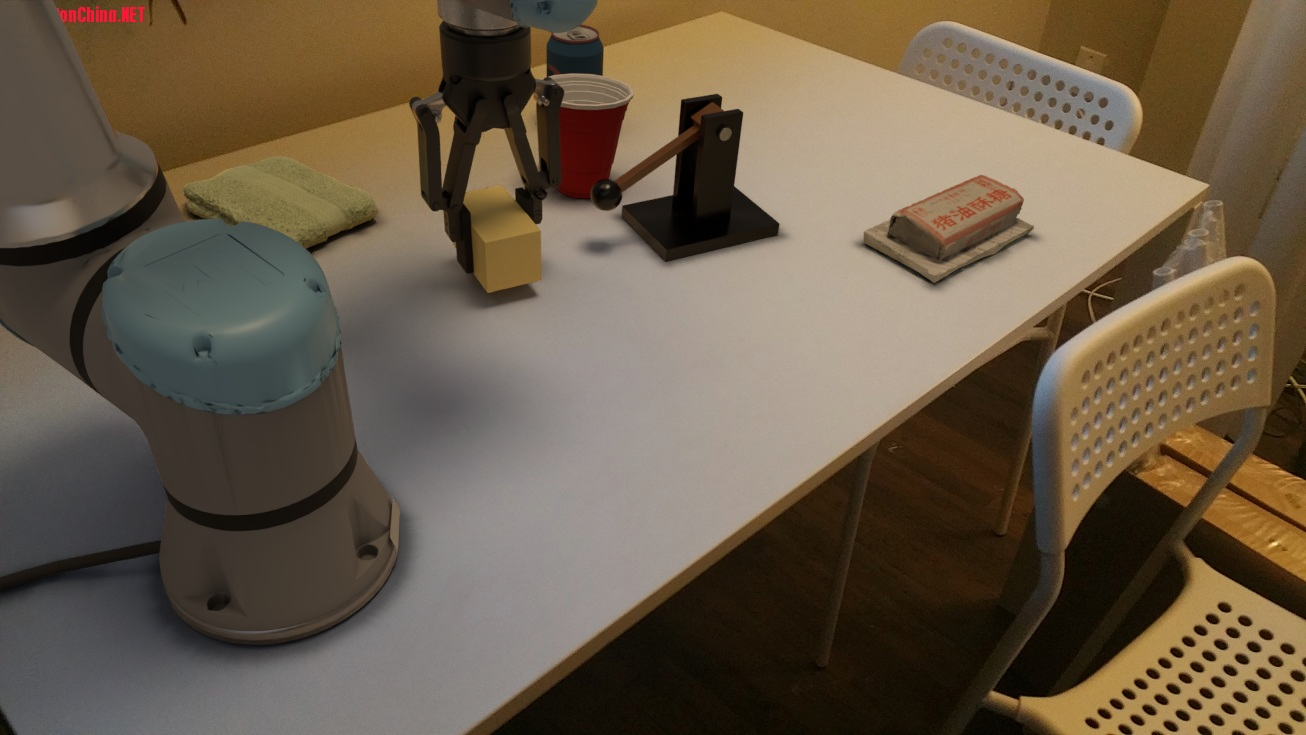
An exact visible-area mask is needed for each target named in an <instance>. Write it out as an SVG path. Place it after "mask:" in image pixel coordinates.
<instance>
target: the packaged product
mask: <svg viewBox="0 0 1306 735" xmlns="http://www.w3.org/2000/svg"><path fill="white" fill-rule="evenodd" d="M1024 201H1025V199H1024V197H1023V196H1022V195H1021V193H1020V192H1018V190H1017V189H1016V188H1014V187H1010V186H1009V185H1007V184H1003V183H1002V182H999V181H998V180H996V179H994V178H991V177H989V176H988V175H987V176H986V175H984V174H979V175H977V176H974V177H972V178H969V179H967V180H965V181H963V182H961V183H958V184H956V185H953V186H950V187H949V188H946V189H944V190H942V191H940V192H937V193H935V194H933V195H929V196H928V197H926V198H924V199H921V200H919V201H917V202H915V203H912V204H911V205H907V206H905V207H902V208H901V209H900V208H899V209H898V210H897V211H894V213H893V214H891V217H890V218H889V220H886V221H883V222H882V223H879V224H878V225H877V224H876V225H874V226H873V227H871V228H868V229H865V230H864V231H863V244H865V245H867V246H869V247H871V248H873V249H875V250H876V251H879V252H881V253H883V255H886V256H888V257H889V258H892V259H893V260H896V261H897V262H899V263H901V264H903V265H904V266H907V267H908V268H910V269H912V270H914V271H915V272H918V274H920V275H922V276H923V277H925V279H928V280H929V281H930V282H932V283H933V284H935V283H937V282H939V281H940V280H942V279H943V278H945V277H947V276H949V275H950V274H951V273H954V272H955V271H957V270H958V269H960V268H963V267H965V266H968V265H970V264H972V263H974V262H976V261H979V260H980V259H984V258H985V257H990V256H992V255H996V254H997V253H998V252H999V251H1001V249H1002V248H1004V247H1005V246H1006V245H1008V244H1010V243H1012V242H1013V241H1015V240H1017V239H1020V238H1021V237H1023V236H1026V235H1028V234H1030V233H1031V232H1032V231H1033V230H1034V229H1035V225H1034V224H1033V225H1032V224H1030V223H1029V222H1026V221H1024V220H1022V219H1021V218H1019V217H1018V215H1020V212H1021V211H1022V207H1023V204H1024Z"/></svg>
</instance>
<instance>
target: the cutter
mask: <svg viewBox="0 0 1306 735" xmlns="http://www.w3.org/2000/svg"><path fill="white" fill-rule="evenodd" d="M711 102H713V103H715V104H716V105H717V106H719V107H720V108H721V109H722V104H723V96H722V95H720V94H719V93H713V94H712V93H711V94H708V95H701V96H695V97H694V96H693V97H688V98H682V99H680V109H679V120H678V131H677V132H678V133H677V137H678V136H679V135H681V134H682V133H684V132H685V131H686V130H688V129H689V128H691V127H692V126H694V124H693V122H692V120H691V116H693V115H694V114H695V113H697V112H698V111H700V110H701V109H703V108H704V107H706V106H707V105H708V104H710V103H711ZM743 119H744V111H742V110H741V109H740V108H735V109H728V110H724V111H722V112H716V113H710V114H704V115H701V123H700V133H699V139H698V140H697V141H695V142H694V143H692V144H691V145H690V146H688V147H687V148H685V149H684V150H682V151H681V152H680V153H678V154H677V155H675V157H676V158H675V167H674V179H673V180H674V181H673V191H672V194H671V195H665V196H662V197H661V196H660V197H657V198H651V199H646V200H642V201H637V202H633V203H628V204H623V205H621V217H622V218H623V220H624V221H625V222H626V223H627V224H628V225H629V226H630V227H631V228H632V229H633V230H634V231H635V232H636V233H637V234H638V235H639V236H640V237H641V238H642V239H643V240H644V241H645V242H646V243H647V244H648V245H649V246H650V247H651V248H652V249H653V250H655V252H656V253H657V254H658V255H659V256H660V257H661V258H662V259H663V260H664V261H665V262H669V261H674V260H677V259H682V258H687V257H690V256H695V255H698V254H702V253H707V252H711V251H715V250H719V249H724V248H728V247H733V246H736V245H740V244H741V245H742V244H744V243H749V242H754V241H757V240H762V239H766V238H769V237H774V236H778V235H779V231H780V225H781V224H780V223H779V222H778V221H777V219H775V218H773V217H772V216H771V215H770V214H768V212H767V211H765V210H764V209H762V207H760V206H759V205H758V204H757V203H756V202H754V201H753V200H752V199H751V198H749V197H748V196H747V195H746V194H744V193H743V192H742V191H741V190H740V189H738V188H737V187H736V186H735V183H736V175H737V166H738V160H739V153H740V152H739V151H740V143H741V134H742V128H743Z"/></svg>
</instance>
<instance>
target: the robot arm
mask: <svg viewBox="0 0 1306 735" xmlns="http://www.w3.org/2000/svg"><path fill="white" fill-rule="evenodd" d="M598 2H599V0H436V7H437V15H438V17H439V18H440V19H441V20H442V21H441V23H440V24H439V26H438V30H439V44H440V45H439V46H440V58H441V59H440V60H441V70H442V78H441V81H440V83H439V85H438V90H437V92H435V93H433V94H431V95H429V96H427V97H425V98H422V97H420V96H413V97H411V98H410V100H409V102H408V105H409V106H408V107H409V108H410V111H411V113H412V115H413V118H414V119H415V122H416V128H417V147H418V148H417V149H418V166H419V167H418V168H419V184H420V196H421V198H422V199H423V201H424V202H425V203H426V205H427V207H428V209H430V210H431V211H432V212H438V211H443V212H442V214H443V224H444V232H445V234H446V236H447V237H448V239H449V240H450V241H451V243H452V244H453V242H456V248H455V249H456V250H455V251H456V261H457V262H458V265H460V267H461V268H462V270H463V271H464V272H465V274H466V275H469V274H474V263H473V247H472V232H471V213H470V211H469V210H468V209H467V207H466V206H465V205H464V203H463V202H464V197H465V193H466V192H467V188H468V183H469V180H470V175H471V170H472V167H473V162H474V157H475V153H476V149H477V146H478V145H479V144H480V142H481V138H482V134H483V133H486V132H488V131H490V130H492V129H500V130H504V133H505V136H506V139H507V141H508V144H509V148H510V151H511V153H512V156H513V159H514V162H515V165H516V168H517V171H518V173H519V177H520V179H521V181H522V182H521V183H522V184H523V186H520V187H515V188H514V193H515V194H514V196H515V197H514V199H515V201H516V202H517V203H518V204H519V205H520V206H521V208H522V209H523V210H524V211H525V212H526V214H527V215H528V216H529V217H530V218H531V219H532V221H533V222H534V223H535V224H536V225H540V224H541V223H542V221H543V201H544V200H546V199H547V197H548V192H547V190H548V189H550V188H553V189H554V188H557V187H558V186H559V185H560V184H561V181H562V177H561V152H560V127H559V110H560V107H561V103H562V100H563V97H564V89H563V88H562V87H561V86H560V85H558V84H557V83H556V82H555V81H554V80H553V79H552V78H550V77H547V76H546V77H543V78H544V79H543V80H540V79H541V78H540V79H539V78H535V76H534V74H533V72H532V68H531V66H532V31H531V30H532V29H531V28H534V29H538V30H542V31H545V32H549V33H551V32H553V33H564V32H568V31H571V30H573V29H575V28H577V27H578V26H580V25H583V24H584V23H585V22H586V21H587V20H588V19H589V18H590V17H591V15H592V13H593V12H594V11H595V9H596V7H597V6H598ZM532 96H533V100H534V101H535V102H536V103H535V111H536V112H535V113H536V131H537V149H538V166H539V168H538V166H537V163H536V160H535V157H534V154H533V151H532V148H531V145H530V141H529V139H528V135H527V128H526V125H525V122H524V119H523V115H522V112H523V111H524V109H525V108H526V106H527V105H528V103H529V101H530V99H531V98H532ZM446 107H447V108H448V109H449V110H450V111H451V113H452V114H453V115H454V120H453V126H452V130H453V137H452V140H451V146H450V149H449V154H448V160H447V164H446V169H445V173H444V178H443V179H442V157H441V156H442V153H441V134H440V129H439V126H438V124H440V123H441V122H442V118H443V116H442V115H443V114H442V113H443V112H442V111H443V109H444V108H446ZM442 181H443V182H442ZM328 282H329V281H328V280H327V277H326V274H325V272H324V270H323V269H322V267H321V265H320V264H319V261H318V260H317V259H316V258H315V257H314V256H313V255H312V253H311V252H310V251H309V250H308V249H307V248H306V249H305V248H304V247H303V246H302V245H300V244H299V243H298V242H296V241H295V240H294V239H292V238H290V237H289V236H287V235H285V234H283V233H281V232H279V231H277V230H274V229H271V228H269V227H266V226H263V225H259V224H255V223H251V222H245V221H242V222H240V223H238V224H237V225H233V226H229V225H227V223H226V222H225V220H223V219H206V218H202V219H194V220H193V219H192V220H186V218H185V217H184V216H183V214H182V212H181V210H180V208H179V206H178V203H177V201H176V199H175V197H174V194H173V192H172V190H171V188H170V185H169V183H168V180H167V179H166V177H165V174H164V172H163V170H162V168H161V166H160V164H159V162H158V158H157V156H156V155H155V153H154V151H153V149H152V148H151V146H150V145H149V144H147V143H145V141H143V140H141V139H139V138H137V137H135V136H132V135H129V134H126V133H123V132H121V131H118V130H115V129H114V127H113V125H112V123H111V121H110V118H109V116H108V114H107V112H106V110H105V108H104V106H103V103H102V102H101V100H100V97H99V95H98V93H97V91H96V89H95V87H94V84H93V83H92V80H91V77H90V76H89V74H88V72H87V70H86V67H85V65H84V63H83V61H82V59H81V57H80V55H79V52H78V50H77V48H76V46H75V44H74V42H73V39H72V37H71V34H70V33H69V31H68V29H67V27H66V25H65V23H64V19H63V18H62V16H61V13H60V12H59V10H58V7H57V6H56V3H55V1H54V0H0V326H1V327H2V328H3V329H5V330H6V331H7V332H9V333H10V334H12V335H13V336H14V337H15V338H17V339H18V340H21V341H22V342H24V343H25V344H28V345H30V346H32V347H34V348H36V349H37V350H39V351H40V352H42V353H43V354H44V355H46V356H47V357H48V358H50V359H51V360H52V361H53V362H55V363H57V364H58V365H59V366H61V368H63V369H65V370H66V371H67V372H69V373H70V374H72V375H73V376H74V377H76V378H77V379H78V380H79V381H81V382H82V383H83V384H85V385H86V386H87V387H89V388H90V389H91V390H93V391H94V392H96V393H97V394H98V395H100V397H102V398H103V399H105V400H106V401H107V402H109V403H110V404H112V405H113V406H114V407H116V408H117V409H118V410H120V411H121V412H123V413H124V414H125V415H126V416H128V417H129V418H130V419H132V420H133V421H134V422H135V423H136V425H137V426H138V427H139V429H140V430H141V431H142V433H143V435H144V437H145V439H146V440H147V443H148V446H149V450H150V452H151V455H152V458H153V461H154V464H155V467H156V470H157V473H158V475H159V478H160V480H161V483H162V486H163V489H164V492H165V495H166V502H165V509H164V517H163V523H162V524H163V525H162V531H161V537H160V538H161V539H157V540H153V541H147V542H142V543H136V544H133V545H127V546H122V547H117V548H113V549H107V550H103V551H98V552H93V553H88V554H83V555H77V556H74V557H68V558H64V559H59V560H55V561H51V562H47V563H43V564H39V565H35V566H33V567H32V566H31V567H28V568H25V569H22V570H18V571H15V572H12V573H8V574H6V575H1V576H0V592H1V591H5V590H8V589H11V588H14V587H17V586H20V585H24V584H27V583H30V582H31V583H32V582H34V581H38V580H40V579H45V578H48V577H52V576H56V575H60V574H65V573H69V572H73V571H78V570H82V569H88V568H92V567H98V566H103V565H107V564H108V565H109V564H113V563H117V562H122V561H127V560H132V559H137V558H142V557H147V556H152V555H156V554H159V558H158V560H159V568H160V578H161V582H162V584H163V588H164V590H165V594H166V596H167V598H168V600H169V603H170V606H171V608H172V609H173V610H174V611H175V613H176V614H177V616H179V618H180V619H181V620H182V621H183V622H184V623H185V624H187V625H188V626H189V627H191V628H192V629H194V630H195V631H197V632H198V633H200V634H203V635H205V636H207V637H209V638H212V639H214V640H218V641H222V642H226V643H232V644H238V645H246V646H247V645H249V646H258V645H259V646H261V645H262V646H263V645H276V644H281V643H282V644H283V643H287V642H293V641H296V640H301V639H304V638H307V637H309V636H313V635H315V634H318V633H320V632H323V631H326V630H327V629H329V628H332V627H334V626H335V625H337V624H339V623H341V622H343V621H344V620H346V619H347V618H349V617H351V616H352V615H354V614H355V613H356V612H357V611H359V610H360V609H362V607H364V606H365V605H366V604H367V603H369V601H370V600H371V599H373V598H374V596H375V595H376V594H377V593H378V592H379V591H380V589H381V588H382V587H383V586H384V585H385V583H386V581H387V580H388V578H389V577H390V574H391V573H392V571H393V568H394V567H395V563H396V561H397V560H396V559H397V558H398V552H399V547H400V535H399V534H400V533H399V531H400V518H401V517H400V516H401V515H400V514H401V509H400V507H399V505H398V503H397V502H396V499H395V498H394V497H392V501H391V497H390V495H389V494H388V492H387V490H386V488H385V487H384V485H383V484H382V483H381V481H380V480H379V478H378V477H377V475H376V474H375V472H374V471H373V469H372V468H371V467H370V465H369V464H368V462H367V461H366V459H365V458H364V456H363V455H362V454H361V452H360V450H359V449H358V445H357V444H358V443H357V439H356V430H355V425H354V419H353V412H352V407H351V398H350V394H349V388H348V380H347V374H346V369H345V362H344V357H343V355H344V354H343V348H342V341H341V335H342V325H341V319H340V316H339V313H338V310H337V307H336V305H335V302H334V300H333V295H332V293H331V289H330V285H329V283H328Z"/></svg>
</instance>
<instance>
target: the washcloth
mask: <svg viewBox="0 0 1306 735" xmlns="http://www.w3.org/2000/svg"><path fill="white" fill-rule="evenodd" d="M182 188H183V197H185V199H187V203H186V208H187V210H188V211H189V212H190V213H192V214H193V215H195V216H198V217H199V218H202V219H223V220H225V222H226V223H227V225H229V226H233V225H237V224H238V223H240V222H242V221H245V222H251V223H255V224H259V225H263V226H266V227H269V228H271V229H274V230H277V231H279V232H281V233H283V234H285V235H287V236H289V237H290V238H292V239H294V240H295V241H296V242H298V243H299V244H300V245H302V246H303V247H304V248H305V249H306V250H307V249H308V248H310V247H313V246H316V245H318V244H321V243H323V242H327V240H328V238H329V237H331V236H333V235H336V234H338V233H340V232H344V231H349V230H350V229H353V228H354V227H356V226H359V225H362V224H364V223H366V222H369V221H372V219H373V218H376V217H377V216H378V214H379V209H378V207H377V204H376V202H375V200H374V198H373V197H372V195H371V194H370V193H369V192H368V191H367V190H364V189H362V188H359V187H356V186H353V185H348V184H346V183H343V182H342V181H339V180H338V179H336V177H334V176H331V175H328V174H326V173H323V172H321V171H318V170H315V169H313V168H311V167H309V166H307V165H305V164H303V163H302V162H300V161H298V160H296V159H294V158H292V157H289V156H280V155H279V156H270V157H266V158H263V159H261V160H259V161H255V162H252V163H247V164H243V165H238V166H234V167H230V168H227V169H226V168H225V169H224V170H221V171H219V172H218V173H217V174H216V175H214V176H212V177H211V178H208V179H203V180H197V181H190V182H187V183H186V184H184V186H183V187H182Z"/></svg>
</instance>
